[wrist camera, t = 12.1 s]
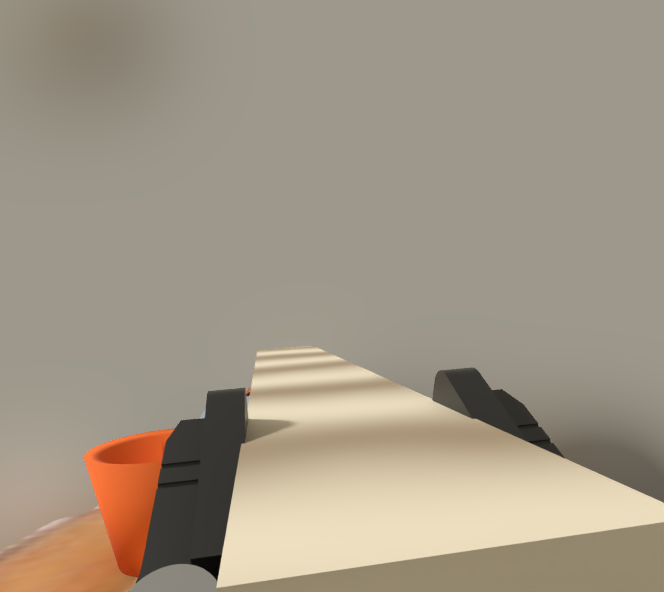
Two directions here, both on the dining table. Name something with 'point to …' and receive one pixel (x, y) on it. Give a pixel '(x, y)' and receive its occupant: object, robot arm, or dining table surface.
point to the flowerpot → (127, 491)
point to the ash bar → (416, 497)
